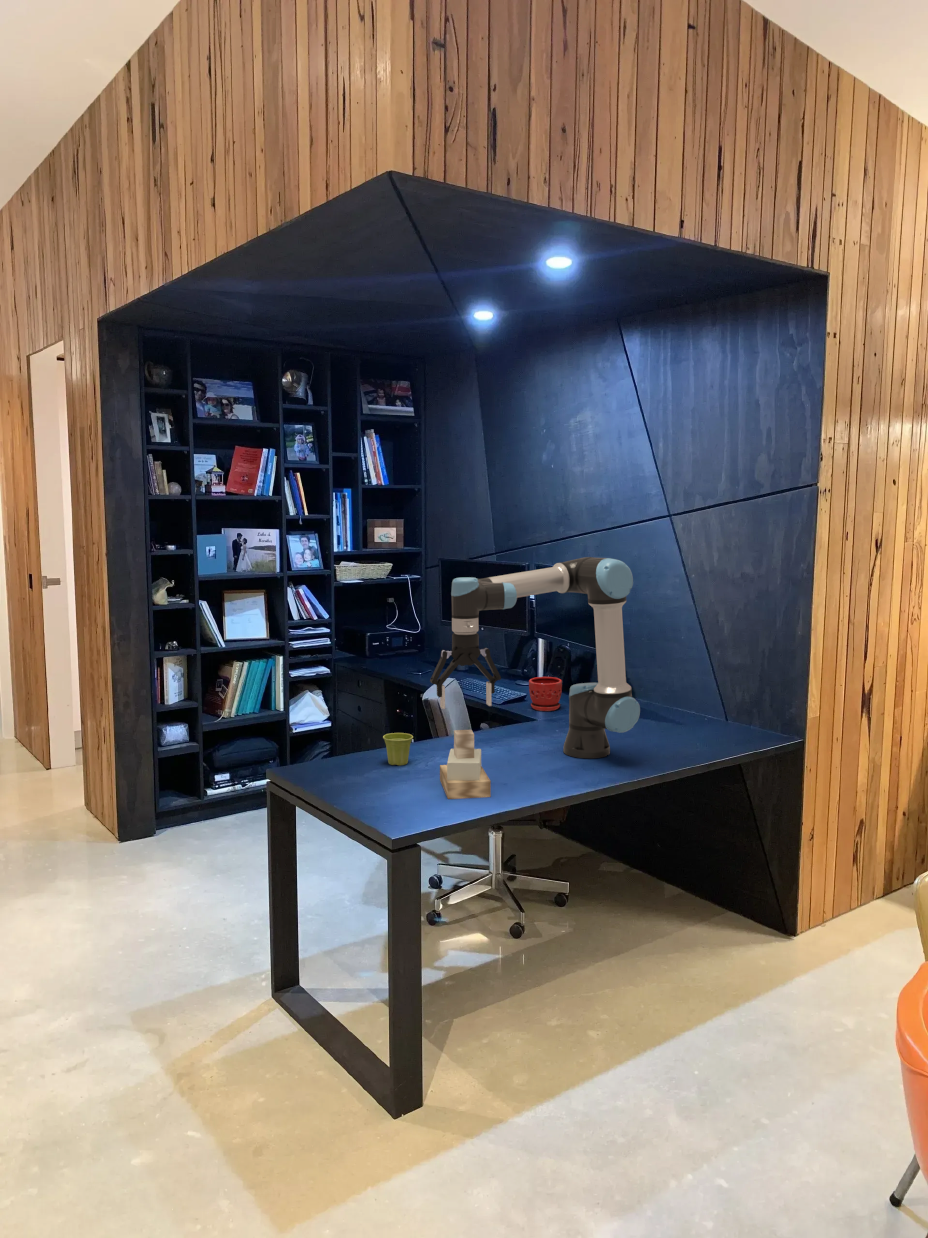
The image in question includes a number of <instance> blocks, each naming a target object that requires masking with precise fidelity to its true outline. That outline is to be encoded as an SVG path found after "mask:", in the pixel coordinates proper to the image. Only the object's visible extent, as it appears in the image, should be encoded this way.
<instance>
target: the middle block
mask: <svg viewBox="0 0 928 1238" xmlns="http://www.w3.org/2000/svg"><path fill="white" fill-rule="evenodd" d="M446 765H447V780H463V781H480V772H481V766H482V749H481V748H474V758H463V759H457V758H456V756H455V755H454V748H450V750H449V754H448V758H447V763H446Z"/></svg>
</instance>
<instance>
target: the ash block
mask: <svg viewBox="0 0 928 1238" xmlns="http://www.w3.org/2000/svg"><path fill="white" fill-rule="evenodd" d="M453 749H454V755H455V756H456V758H457V759H463V758H474V749H475V733H474V732H473V730H472V729H457V730H456V729H455V730H453Z"/></svg>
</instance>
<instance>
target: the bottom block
mask: <svg viewBox="0 0 928 1238" xmlns="http://www.w3.org/2000/svg"><path fill="white" fill-rule="evenodd" d="M439 781H440V783H441V786H442V788H443V791H444V793H445V796H446V797H447V800H458V799H459V800H460V799H477V798H478V799H479V798H480V799H481V798H482V799H483V798H491V795H492V793H491V791H492V790H491V789H492V788H491V787H492V785H491V784H492V783H491V782H492V781H491V779H490V777H489V776H488V774H487V773H486V771H485V769H484V768H483V766H482V765H481V772H480V781H463V780H447V764H439Z"/></svg>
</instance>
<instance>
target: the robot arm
mask: <svg viewBox="0 0 928 1238" xmlns="http://www.w3.org/2000/svg"><path fill="white" fill-rule="evenodd" d="M633 585H634V578H633V573H632V570H631V568H630V567H629V566H628V565H627V564H626V563H625V562H624V561H622V560H619V559H615V558H611V557H608V558H607V557H593V556H586V557H585V556H584V557H581V558H576V559H571V560H567V561H563V562H556V563H555V564H554V565H553V566H552V567H551V566H550V567H545V568H540V569H533V570H527V571H521V572H520V571H519V572H514V573H508V574H503V575H497V576H496V575H495V576H489V577H484V578H476V577H472V576H471V577H470V576H469V577H456V578H453V579H452V582H451V592H450V595H451V631H452V632H453V633H452V634H451V640H452V641H451V650H450V651H449V650H445V649H442V650H441V651H440V657H439V660H438V662H437V664H436V667H435V668H434V671H433V672H432V673H433V674H432V675H431V677H430V679H429V682H430V683H431V684H432V685H435V686H436V696H437V697H438V698H439V701H440V702H439V703H440V704H439V705H440V707H439V708H441V709H442V710H445V709H446V686H445V685H444V683H445V682H446V681H447V679H448V678H449V677H450V675H451V674H452V673H453V671H455V669H456V668H457V667H458V666H462V667H463V666H472V665H475V666H476V667H477V669H479V671H480V672H481V673H482V674H483V676H485V677H486V679H487V680H488V681H486V682H485V683H486V684H485V687H486V689H485V691H486V692H485V694H486V695H485V697H486V699H485V703H486V704H485V705H487V706H488V707H492V706H493V705H492V694H495V692H496V691H495V685H496V683H497V681H501V680H502V677H501V676H502V675H500V672H499V671H498V668H497V666H496V664H495V663H494V660H493V658H492V657H491V650H490V649H489V648H487V647H484V648H481V649H480V647H479V645H480V644H479V638H480V635H479V633H478V632H479V631H480V629H479V613H480V612H481V611H489V610H490V611H491V610H494V611H495V610H506V609H512V608H514V606H515V605H516V603H517V600H518V598H523V597H529V596H534V595H541V594H546V593H552V592H558V593H560V594H565V593H576V594H577V593H578V594H585V595H587V603H588V605H589V606H591V608H592V609H593V617H594V635H595V651H596V665H597V666H596V667H597V671H596V672H597V681H598V682H584V683H583V682H581V683H576V684H573V685H571V686H570V688H569V694H568V700H569V701H568V707H569V708H568V710H569V711H568V720H569V721H568V731H567V734H566V737H565V741H564V744H563V753H564V754H565V755H566V756H569V757H572V758H579V759H600V758H605V757H607V755H608V756H609V755H610V753H611V747H610V742H609V740H608V736H607V733H606V730H608V731H610V732H612V733H613V732H614V733H615V732H616V733H620V734H621V733H626V732H629V731H630V730H632V728H634V727H635V724H636V723H637V722H638V721H639V718H640V713H641V706H640V703H639V702H638V701H637V700H636V699H635V697H633V695H632V693H633V692H632V686H631V685H630V684H629V683H627V676H626V673H627V672H626V657H625V641H624V625H623V624H624V623H623V606H624V605H625V604H626V603H627V596H628V595H629V594H630V593H631V590H632V588H633ZM480 656H483V657H484V658H485V661H486V663H487V666H488V667H489V669H490V670H491V673H492V674H490V672H489V671H488V670H487V668H486V667H484V665H483V664H482V663H481V662H480V661H479V659H478V658H479V657H480ZM450 657H452V658H453V659H452V660H451V661H450V663H449V665H448V666H447V667H446V669H445V670H444V671H443V668H444V666H445V664H446V662H447V659H449V658H450ZM442 671H443V672H442Z"/></svg>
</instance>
